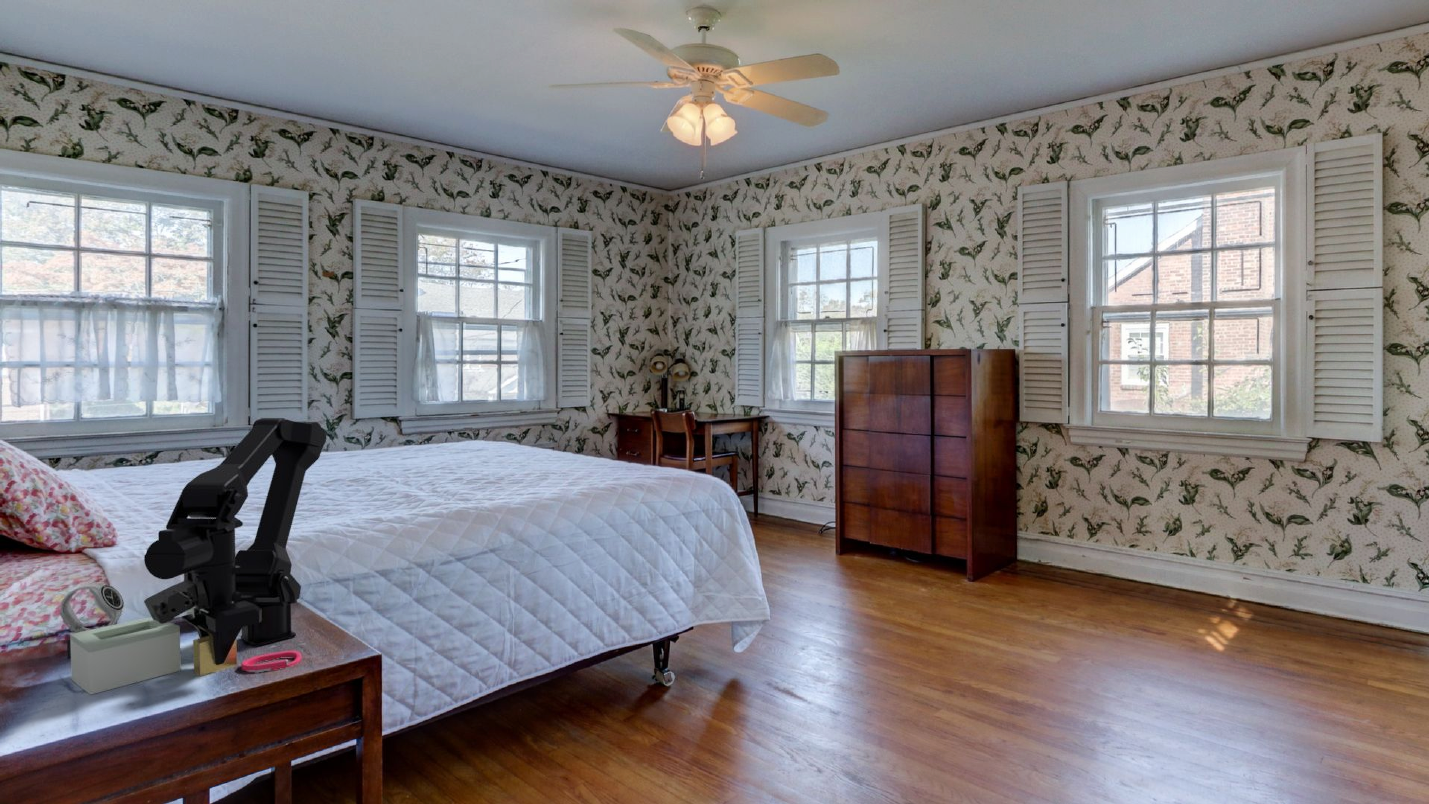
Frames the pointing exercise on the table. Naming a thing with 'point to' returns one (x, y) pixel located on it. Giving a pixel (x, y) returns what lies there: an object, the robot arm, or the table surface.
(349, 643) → the table surface
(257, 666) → the fitness band
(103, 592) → the watch
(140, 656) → the coin box
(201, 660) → the block
